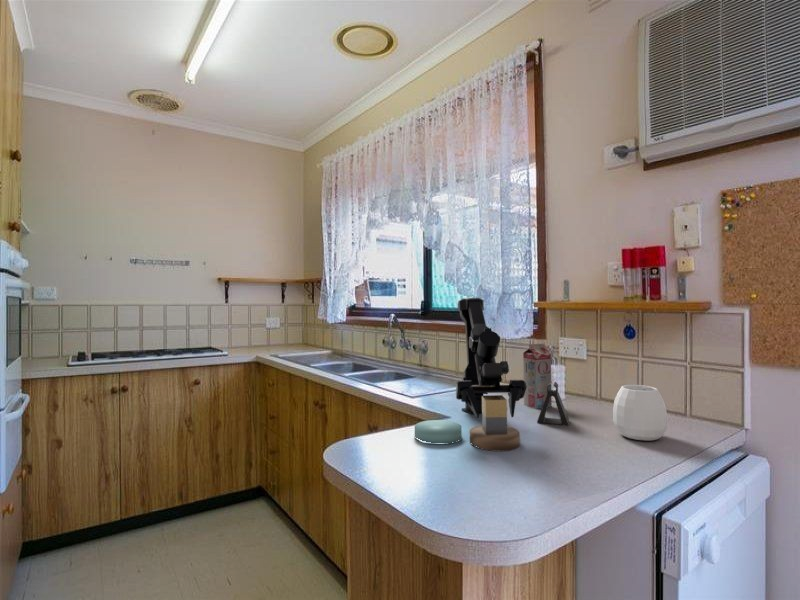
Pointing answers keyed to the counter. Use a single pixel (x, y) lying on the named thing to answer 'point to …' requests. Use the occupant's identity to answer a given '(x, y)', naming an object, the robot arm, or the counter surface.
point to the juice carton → (537, 375)
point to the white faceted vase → (640, 412)
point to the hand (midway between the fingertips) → (495, 416)
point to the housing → (494, 414)
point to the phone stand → (561, 409)
